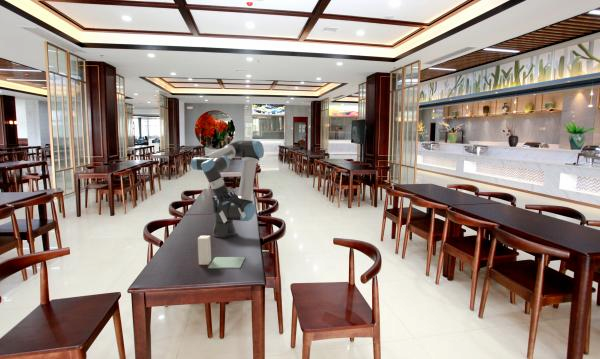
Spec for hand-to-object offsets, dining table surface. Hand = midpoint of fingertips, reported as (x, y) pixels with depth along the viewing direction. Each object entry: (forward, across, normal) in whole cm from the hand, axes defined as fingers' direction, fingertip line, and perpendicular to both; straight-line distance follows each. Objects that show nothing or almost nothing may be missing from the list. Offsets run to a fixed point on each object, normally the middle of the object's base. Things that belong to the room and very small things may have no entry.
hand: (234, 219), depth 197 cm
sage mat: (+14, +2, -23) cm, 27 cm away
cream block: (+9, -8, -27) cm, 30 cm away
